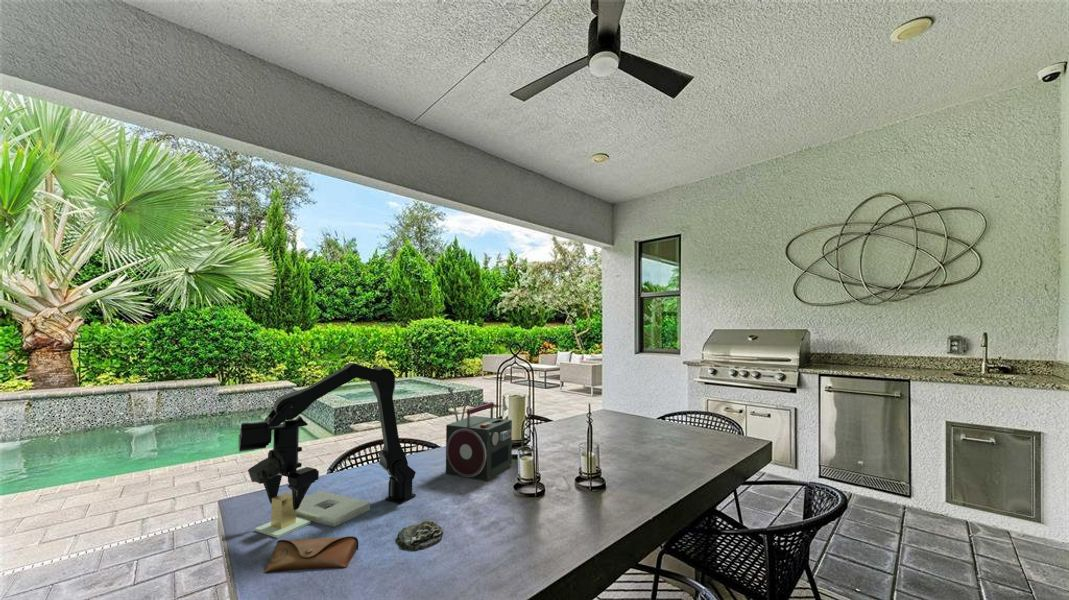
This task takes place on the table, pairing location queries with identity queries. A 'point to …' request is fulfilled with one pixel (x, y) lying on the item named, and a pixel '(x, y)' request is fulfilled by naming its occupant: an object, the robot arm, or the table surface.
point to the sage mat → (278, 532)
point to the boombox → (478, 444)
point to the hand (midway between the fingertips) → (284, 506)
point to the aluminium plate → (330, 508)
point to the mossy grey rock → (419, 536)
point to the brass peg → (282, 511)
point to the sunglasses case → (312, 554)
